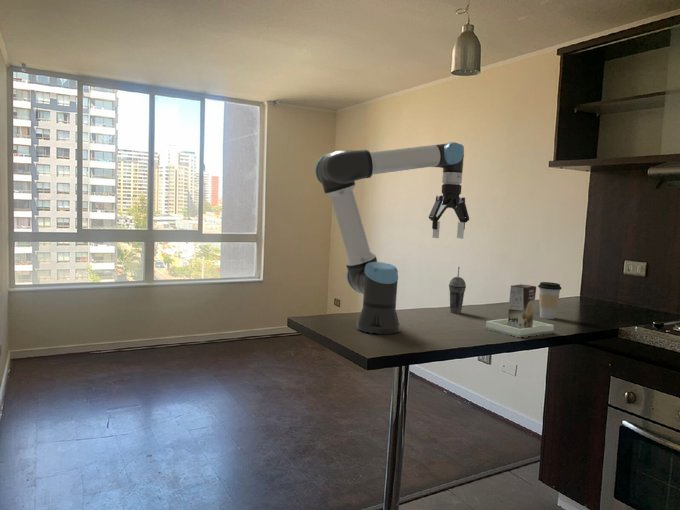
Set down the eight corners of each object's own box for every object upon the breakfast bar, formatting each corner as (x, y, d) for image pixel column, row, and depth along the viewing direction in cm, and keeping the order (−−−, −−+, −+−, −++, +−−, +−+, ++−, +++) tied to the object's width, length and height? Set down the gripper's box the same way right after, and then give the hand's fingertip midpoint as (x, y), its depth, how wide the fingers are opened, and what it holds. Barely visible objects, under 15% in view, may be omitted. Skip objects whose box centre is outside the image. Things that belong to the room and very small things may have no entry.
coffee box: (523, 331, 187) (527, 287, 185) (506, 328, 191) (510, 285, 190) (533, 328, 194) (536, 286, 192) (516, 325, 198) (519, 283, 197)
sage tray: (519, 338, 180) (520, 329, 180) (485, 328, 193) (486, 321, 193) (553, 333, 192) (554, 325, 191) (519, 324, 204) (519, 317, 204)
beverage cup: (446, 313, 220) (449, 266, 219) (447, 310, 227) (450, 265, 226) (463, 314, 218) (466, 268, 217) (464, 312, 225) (467, 266, 223)
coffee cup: (554, 316, 226) (557, 282, 225) (561, 320, 217) (565, 285, 215) (532, 314, 227) (535, 281, 226) (538, 319, 218) (541, 284, 216)
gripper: (435, 181, 191) (431, 238, 193) (480, 186, 205) (476, 239, 207) (421, 181, 197) (418, 237, 199) (466, 186, 211) (462, 237, 213)
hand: (448, 238), depth 203 cm, fingers open, 13 cm apart
